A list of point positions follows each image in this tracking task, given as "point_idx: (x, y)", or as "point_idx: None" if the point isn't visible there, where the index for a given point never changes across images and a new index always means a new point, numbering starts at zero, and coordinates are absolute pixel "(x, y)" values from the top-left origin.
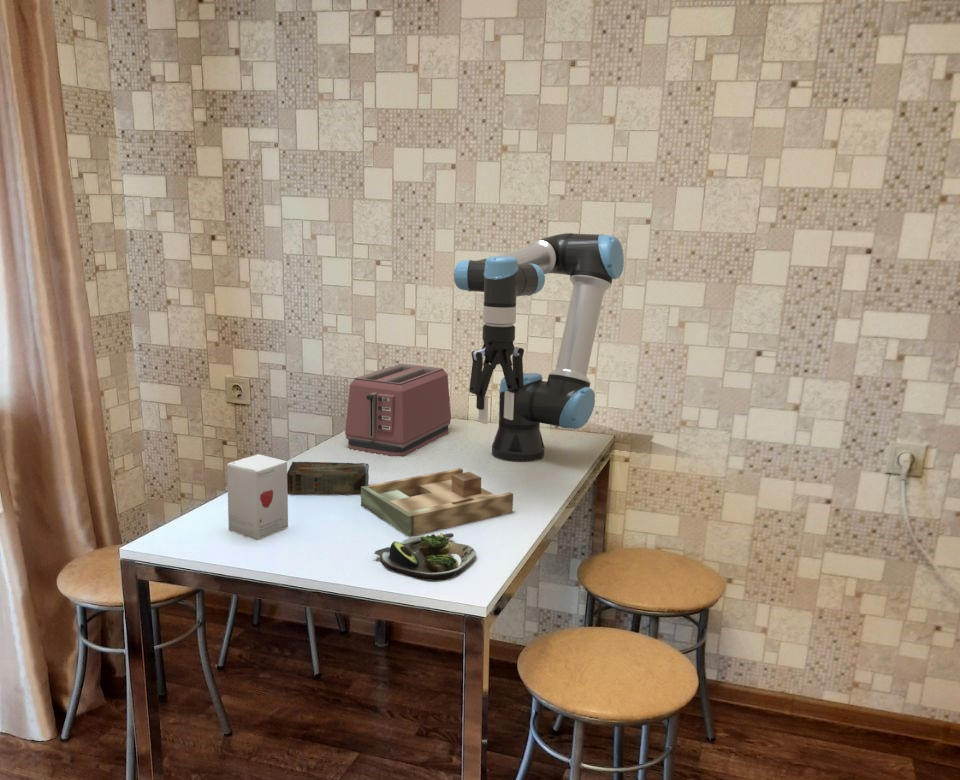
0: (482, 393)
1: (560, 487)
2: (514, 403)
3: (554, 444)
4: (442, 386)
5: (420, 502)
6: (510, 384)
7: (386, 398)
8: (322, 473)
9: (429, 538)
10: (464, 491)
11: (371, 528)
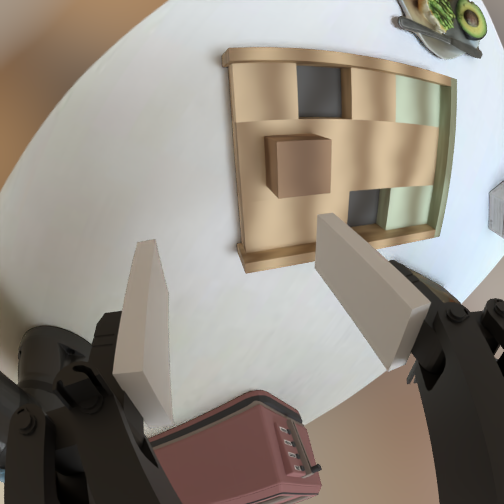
0: (465, 316)
1: (35, 169)
2: (108, 320)
3: (5, 371)
4: None
5: (392, 152)
6: (149, 466)
7: (297, 469)
8: (443, 293)
9: (446, 17)
10: (316, 135)
11: None
